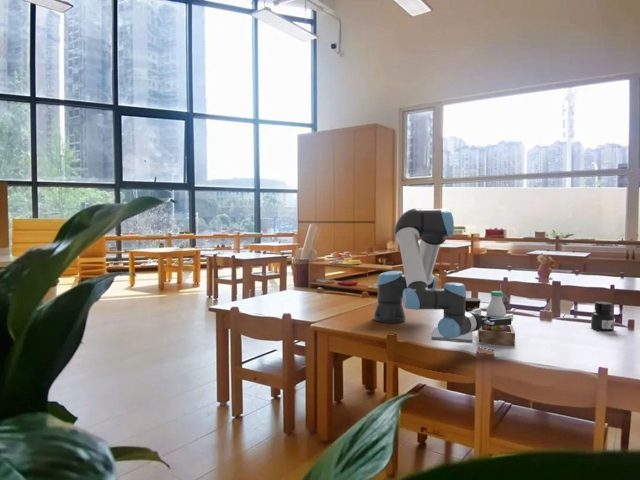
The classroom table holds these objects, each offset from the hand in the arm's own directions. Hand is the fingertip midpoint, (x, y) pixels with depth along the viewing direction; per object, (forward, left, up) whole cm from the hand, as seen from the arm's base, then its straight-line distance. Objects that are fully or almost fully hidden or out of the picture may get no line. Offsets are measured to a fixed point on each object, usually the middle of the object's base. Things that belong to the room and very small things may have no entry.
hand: (496, 314), depth 190 cm
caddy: (0, +1, -11) cm, 11 cm away
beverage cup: (+3, +26, -11) cm, 29 cm away
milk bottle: (0, +1, -11) cm, 11 cm away
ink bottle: (+47, +36, -11) cm, 61 cm away
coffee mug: (-11, +36, -11) cm, 39 cm away
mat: (-17, +2, -11) cm, 20 cm away
